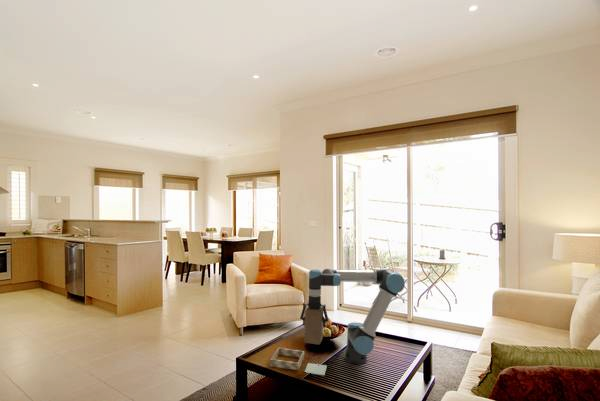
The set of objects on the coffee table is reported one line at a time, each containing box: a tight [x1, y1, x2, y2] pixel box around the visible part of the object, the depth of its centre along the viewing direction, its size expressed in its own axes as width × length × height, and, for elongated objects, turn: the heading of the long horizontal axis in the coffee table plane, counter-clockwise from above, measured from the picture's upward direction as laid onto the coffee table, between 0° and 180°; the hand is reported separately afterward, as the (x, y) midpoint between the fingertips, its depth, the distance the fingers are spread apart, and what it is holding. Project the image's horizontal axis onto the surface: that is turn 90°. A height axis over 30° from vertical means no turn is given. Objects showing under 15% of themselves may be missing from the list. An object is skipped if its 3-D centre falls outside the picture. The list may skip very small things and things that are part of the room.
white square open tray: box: [269, 347, 305, 371], centre depth 210 cm, size 18×18×4 cm
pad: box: [304, 362, 328, 376], centre depth 202 cm, size 12×12×1 cm
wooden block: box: [303, 306, 324, 345], centre depth 204 cm, size 10×10×20 cm
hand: (313, 331), depth 203 cm, fingers closed on wooden block, 10 cm apart
